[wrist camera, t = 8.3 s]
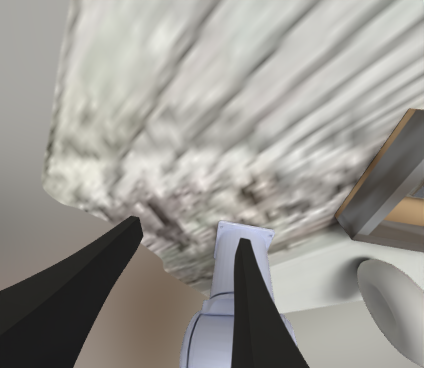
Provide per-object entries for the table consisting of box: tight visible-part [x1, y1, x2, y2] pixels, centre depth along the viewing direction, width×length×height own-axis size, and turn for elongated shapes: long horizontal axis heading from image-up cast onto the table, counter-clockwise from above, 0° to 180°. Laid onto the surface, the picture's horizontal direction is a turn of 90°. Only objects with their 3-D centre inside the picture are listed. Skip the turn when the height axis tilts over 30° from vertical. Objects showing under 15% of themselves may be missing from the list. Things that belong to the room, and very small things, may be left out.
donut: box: [357, 259, 424, 368], centre depth 18 cm, size 10×4×10 cm, turn 20°
